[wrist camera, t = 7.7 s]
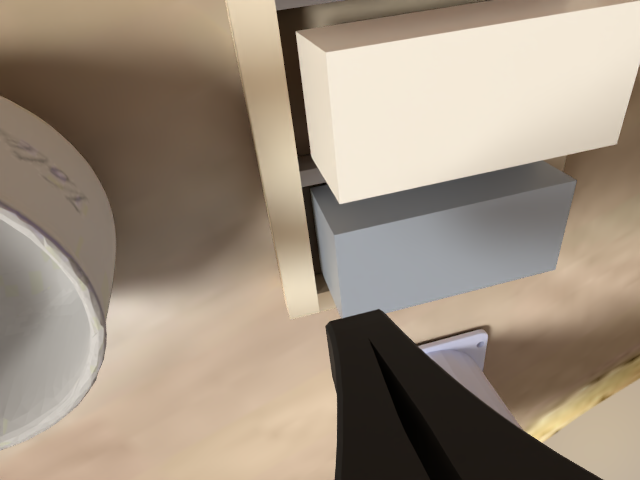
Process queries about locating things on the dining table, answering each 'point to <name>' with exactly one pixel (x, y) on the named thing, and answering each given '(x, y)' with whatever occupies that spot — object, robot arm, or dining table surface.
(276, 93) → the wooden tray
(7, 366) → the teacup
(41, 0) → the dining table surface
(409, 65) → the ivory key
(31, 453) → the dining table surface
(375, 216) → the grey rectangular block
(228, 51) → the dining table surface
